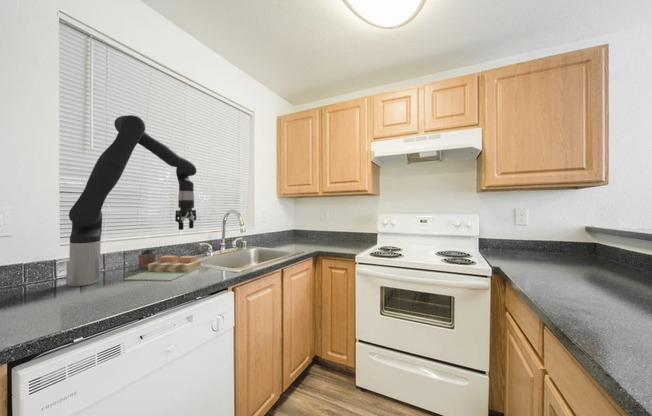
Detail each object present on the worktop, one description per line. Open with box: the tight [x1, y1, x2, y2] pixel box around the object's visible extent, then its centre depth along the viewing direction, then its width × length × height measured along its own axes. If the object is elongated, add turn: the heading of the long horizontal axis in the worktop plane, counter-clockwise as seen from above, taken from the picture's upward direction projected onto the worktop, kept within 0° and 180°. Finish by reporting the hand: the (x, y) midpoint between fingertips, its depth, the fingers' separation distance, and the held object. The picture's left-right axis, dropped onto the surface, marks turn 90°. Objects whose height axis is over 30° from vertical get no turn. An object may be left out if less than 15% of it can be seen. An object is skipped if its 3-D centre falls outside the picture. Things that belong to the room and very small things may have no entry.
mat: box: [123, 271, 189, 282], centre depth 114 cm, size 21×13×1 cm, turn 89°
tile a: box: [158, 254, 179, 262], centre depth 130 cm, size 7×5×2 cm
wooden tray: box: [147, 259, 202, 274], centre depth 127 cm, size 20×12×4 cm, turn 89°
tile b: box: [178, 255, 198, 263], centre depth 129 cm, size 7×5×2 cm
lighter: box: [137, 248, 157, 270], centre depth 131 cm, size 8×3×10 cm, turn 147°
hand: (186, 228), depth 136 cm, fingers open, 8 cm apart
